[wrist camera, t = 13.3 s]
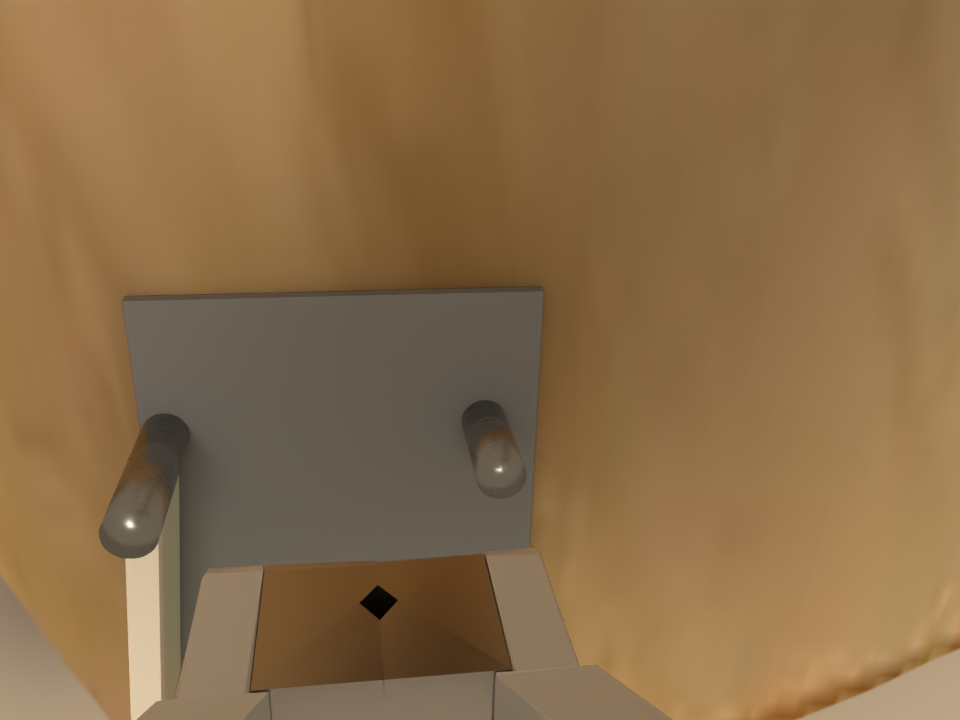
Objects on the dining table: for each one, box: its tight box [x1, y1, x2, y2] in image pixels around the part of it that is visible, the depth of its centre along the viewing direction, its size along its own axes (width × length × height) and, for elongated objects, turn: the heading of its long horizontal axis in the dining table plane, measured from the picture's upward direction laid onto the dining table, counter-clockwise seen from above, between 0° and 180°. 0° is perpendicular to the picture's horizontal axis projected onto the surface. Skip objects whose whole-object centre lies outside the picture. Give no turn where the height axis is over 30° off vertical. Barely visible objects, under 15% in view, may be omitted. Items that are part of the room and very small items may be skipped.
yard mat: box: [122, 287, 544, 658], centre depth 41 cm, size 17×18×1 cm
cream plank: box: [125, 476, 181, 720], centre depth 38 cm, size 11×1×5 cm, turn 173°
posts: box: [99, 400, 527, 559], centre depth 36 cm, size 16×2×8 cm, turn 89°
